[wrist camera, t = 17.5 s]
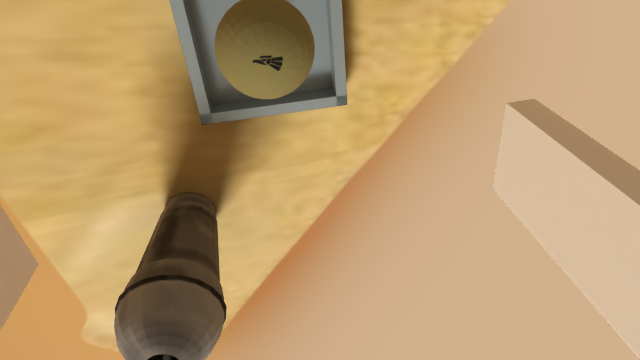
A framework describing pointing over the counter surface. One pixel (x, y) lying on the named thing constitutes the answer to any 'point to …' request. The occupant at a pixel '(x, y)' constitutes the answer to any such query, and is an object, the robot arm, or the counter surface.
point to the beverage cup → (175, 288)
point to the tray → (230, 104)
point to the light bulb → (264, 48)
